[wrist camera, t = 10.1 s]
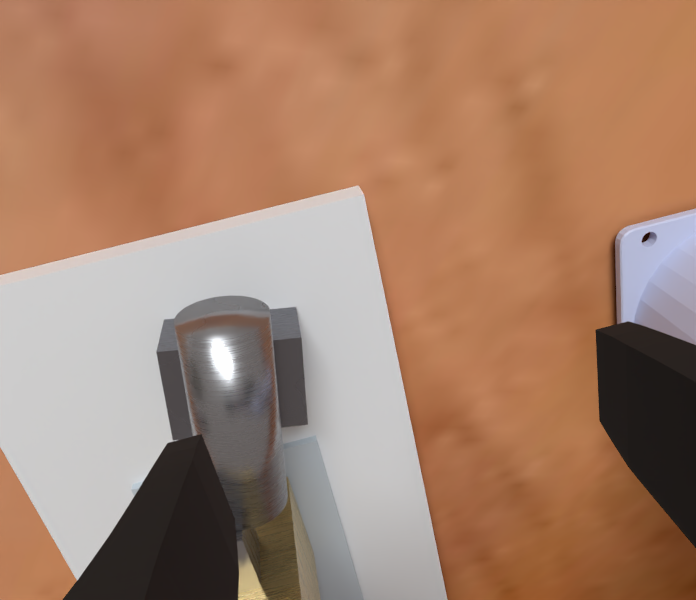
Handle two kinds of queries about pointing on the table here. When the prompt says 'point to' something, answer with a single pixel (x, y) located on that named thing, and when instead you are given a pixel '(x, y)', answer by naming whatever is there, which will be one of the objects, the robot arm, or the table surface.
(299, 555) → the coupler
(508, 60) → the table surface
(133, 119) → the table surface
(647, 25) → the table surface
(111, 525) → the bench
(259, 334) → the shaft
